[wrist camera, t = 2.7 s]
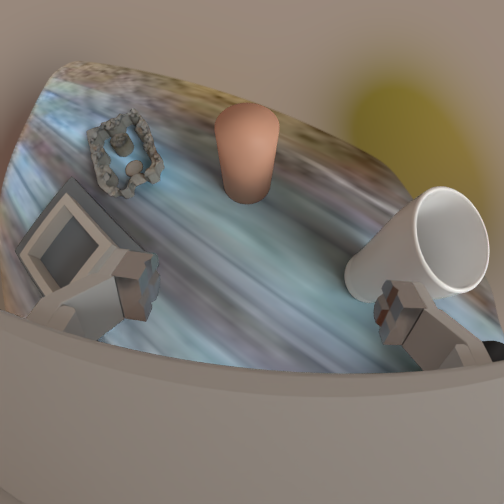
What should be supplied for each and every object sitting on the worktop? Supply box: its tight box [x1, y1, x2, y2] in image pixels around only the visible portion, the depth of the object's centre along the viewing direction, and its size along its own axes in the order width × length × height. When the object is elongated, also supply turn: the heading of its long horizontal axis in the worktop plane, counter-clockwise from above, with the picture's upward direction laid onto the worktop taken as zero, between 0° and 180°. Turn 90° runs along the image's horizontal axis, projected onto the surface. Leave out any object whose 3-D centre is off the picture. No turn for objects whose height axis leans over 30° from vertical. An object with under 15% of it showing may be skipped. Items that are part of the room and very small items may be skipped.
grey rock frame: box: [87, 109, 164, 199], centre depth 30 cm, size 11×8×4 cm
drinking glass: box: [344, 186, 489, 303], centre depth 21 cm, size 7×7×15 cm
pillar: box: [215, 103, 279, 204], centre depth 26 cm, size 5×5×10 cm
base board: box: [15, 177, 159, 341], centre depth 27 cm, size 12×16×4 cm
